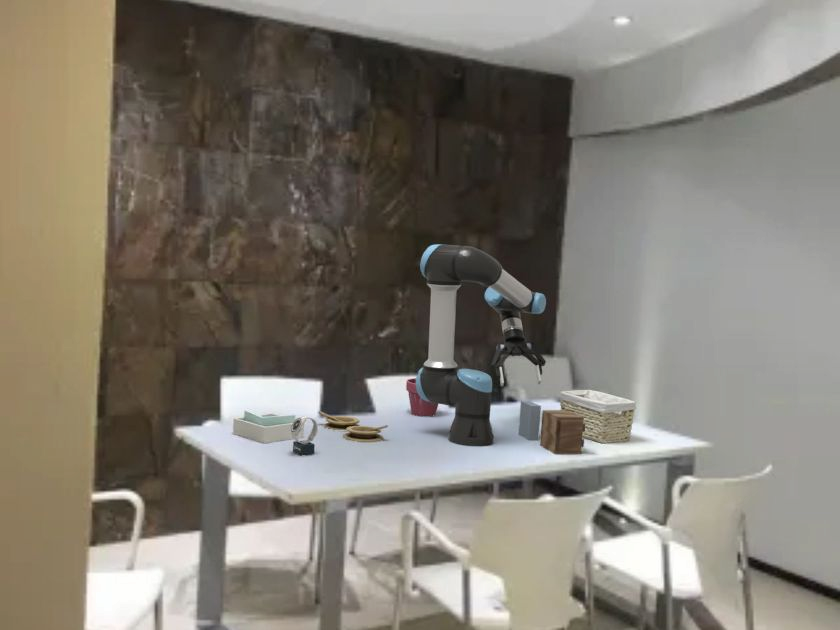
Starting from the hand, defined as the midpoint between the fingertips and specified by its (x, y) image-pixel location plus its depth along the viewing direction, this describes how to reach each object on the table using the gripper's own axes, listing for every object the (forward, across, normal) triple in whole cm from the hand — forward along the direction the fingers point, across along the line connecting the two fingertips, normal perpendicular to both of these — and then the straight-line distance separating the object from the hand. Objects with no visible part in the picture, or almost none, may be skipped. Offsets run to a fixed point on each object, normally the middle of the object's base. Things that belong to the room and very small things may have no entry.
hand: (521, 383), depth 331 cm
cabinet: (+32, -6, +16) cm, 36 cm away
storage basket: (+20, -24, -5) cm, 32 cm away
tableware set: (+20, +62, +9) cm, 65 cm away
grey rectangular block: (+22, +1, +3) cm, 22 cm away
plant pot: (0, +34, -22) cm, 41 cm away
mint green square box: (+23, +89, +19) cm, 94 cm away
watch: (+36, +77, +36) cm, 92 cm away
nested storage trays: (+23, +89, +19) cm, 94 cm away
